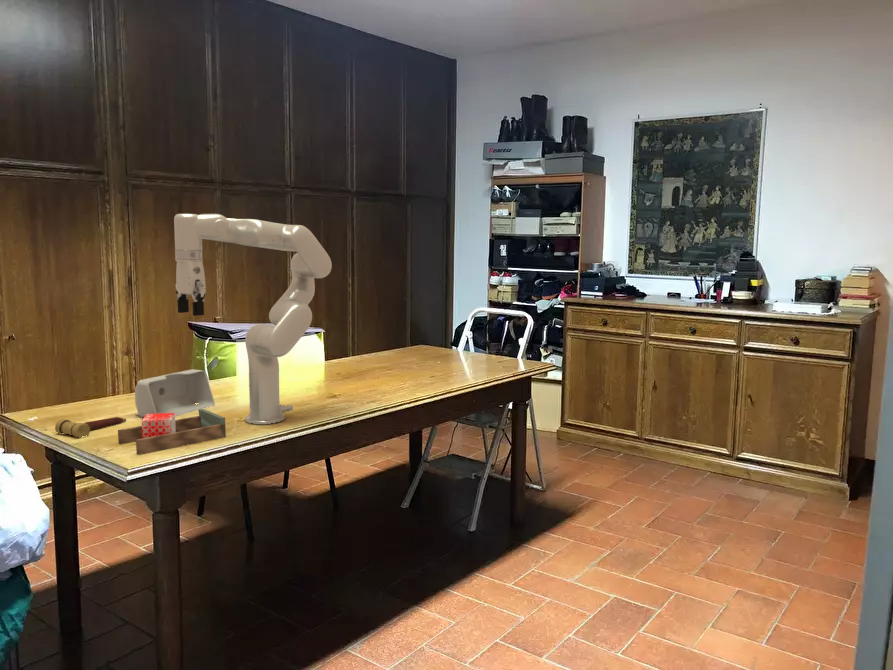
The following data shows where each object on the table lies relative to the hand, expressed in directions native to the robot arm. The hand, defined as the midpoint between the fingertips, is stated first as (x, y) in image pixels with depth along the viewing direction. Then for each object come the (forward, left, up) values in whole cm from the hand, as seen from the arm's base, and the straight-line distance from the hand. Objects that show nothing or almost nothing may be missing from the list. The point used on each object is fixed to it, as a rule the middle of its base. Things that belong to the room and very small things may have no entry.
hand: (190, 313), depth 214 cm
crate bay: (+8, +3, -37) cm, 38 cm away
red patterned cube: (+12, +3, -37) cm, 39 cm away
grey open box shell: (-7, -33, -37) cm, 50 cm away
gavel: (+20, -25, -37) cm, 49 cm away
